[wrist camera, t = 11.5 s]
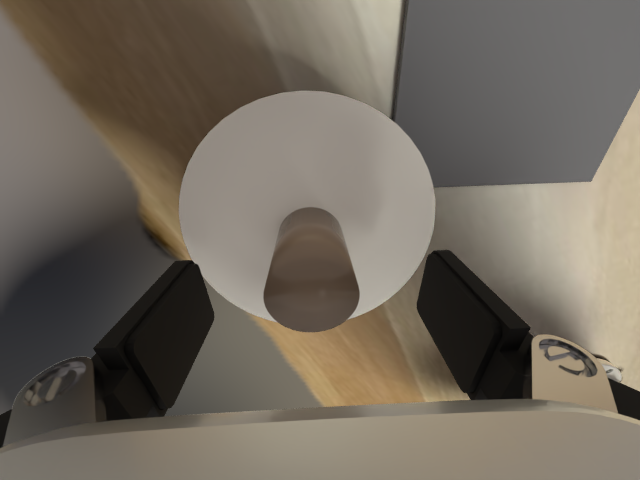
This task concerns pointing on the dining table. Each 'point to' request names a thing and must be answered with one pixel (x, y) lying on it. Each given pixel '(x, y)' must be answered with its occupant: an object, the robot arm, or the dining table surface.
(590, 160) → the mat
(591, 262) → the dining table surface
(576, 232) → the dining table surface
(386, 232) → the lid
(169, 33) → the dining table surface
